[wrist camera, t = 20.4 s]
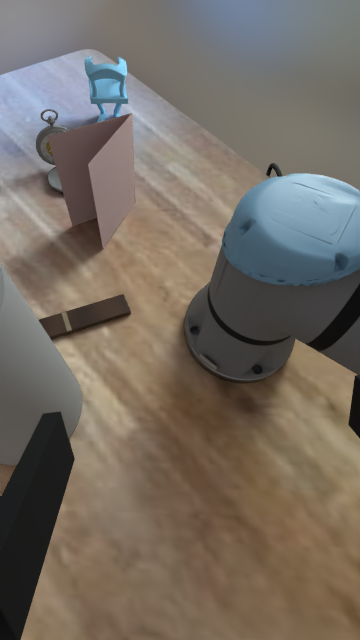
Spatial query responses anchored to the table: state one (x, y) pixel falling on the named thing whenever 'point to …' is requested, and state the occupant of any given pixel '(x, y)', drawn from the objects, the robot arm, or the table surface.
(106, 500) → the table surface
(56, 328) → the ruler
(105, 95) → the chair
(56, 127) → the pocket watch
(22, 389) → the cylinder vase
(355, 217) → the robot arm
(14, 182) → the table surface
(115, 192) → the greeting card
